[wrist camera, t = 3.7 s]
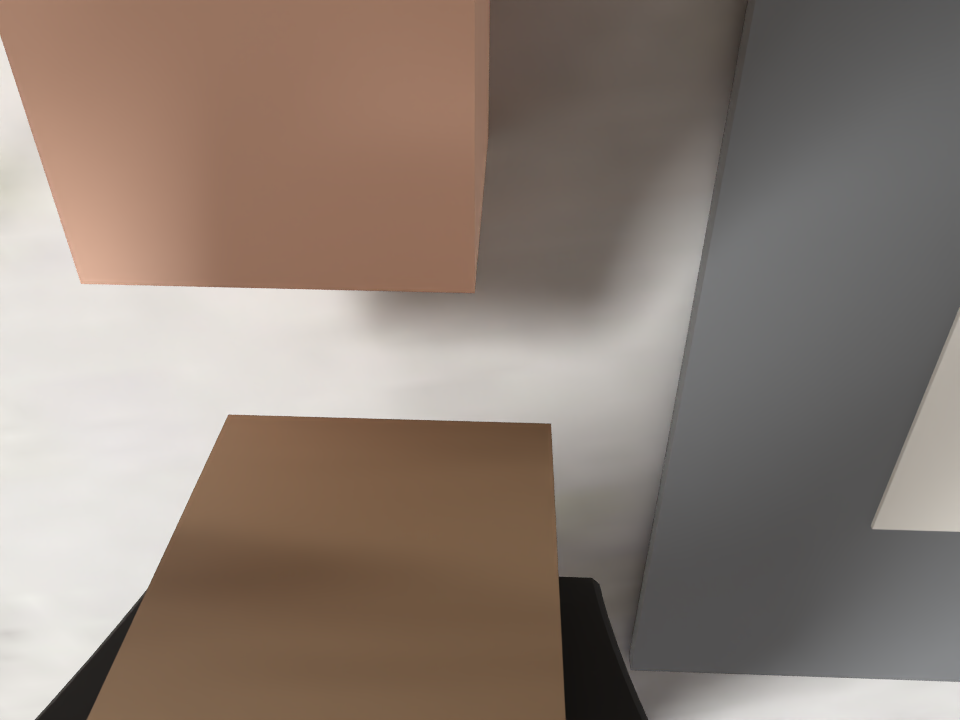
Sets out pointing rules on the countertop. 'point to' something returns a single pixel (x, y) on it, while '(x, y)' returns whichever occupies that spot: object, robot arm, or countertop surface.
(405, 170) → the terracotta block
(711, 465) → the grey mat
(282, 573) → the walnut block
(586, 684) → the robot arm
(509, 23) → the countertop surface
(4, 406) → the countertop surface
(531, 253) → the countertop surface
